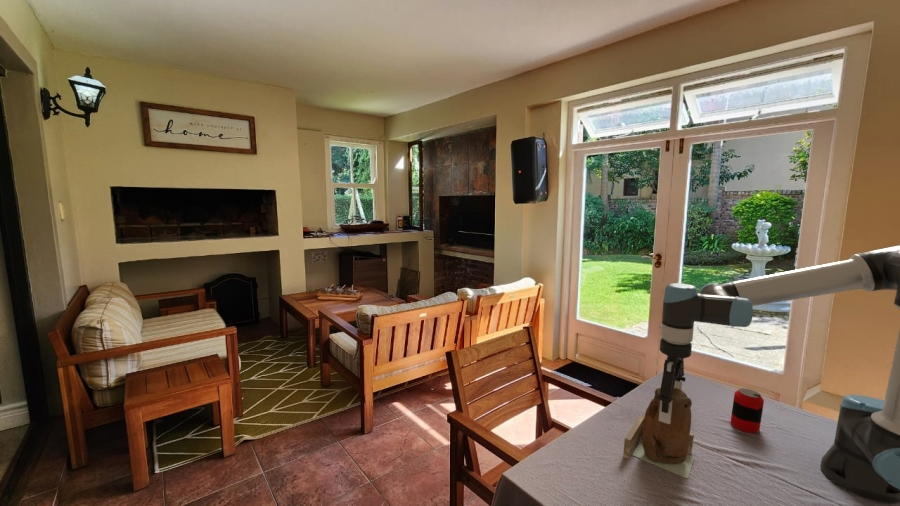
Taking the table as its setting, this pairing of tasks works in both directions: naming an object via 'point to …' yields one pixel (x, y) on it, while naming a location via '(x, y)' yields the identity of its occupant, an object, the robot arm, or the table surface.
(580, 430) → the table surface
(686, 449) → the brown sandstone rock
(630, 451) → the wooden l-shaped piece
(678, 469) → the pad
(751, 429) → the soda can
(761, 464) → the table surface
